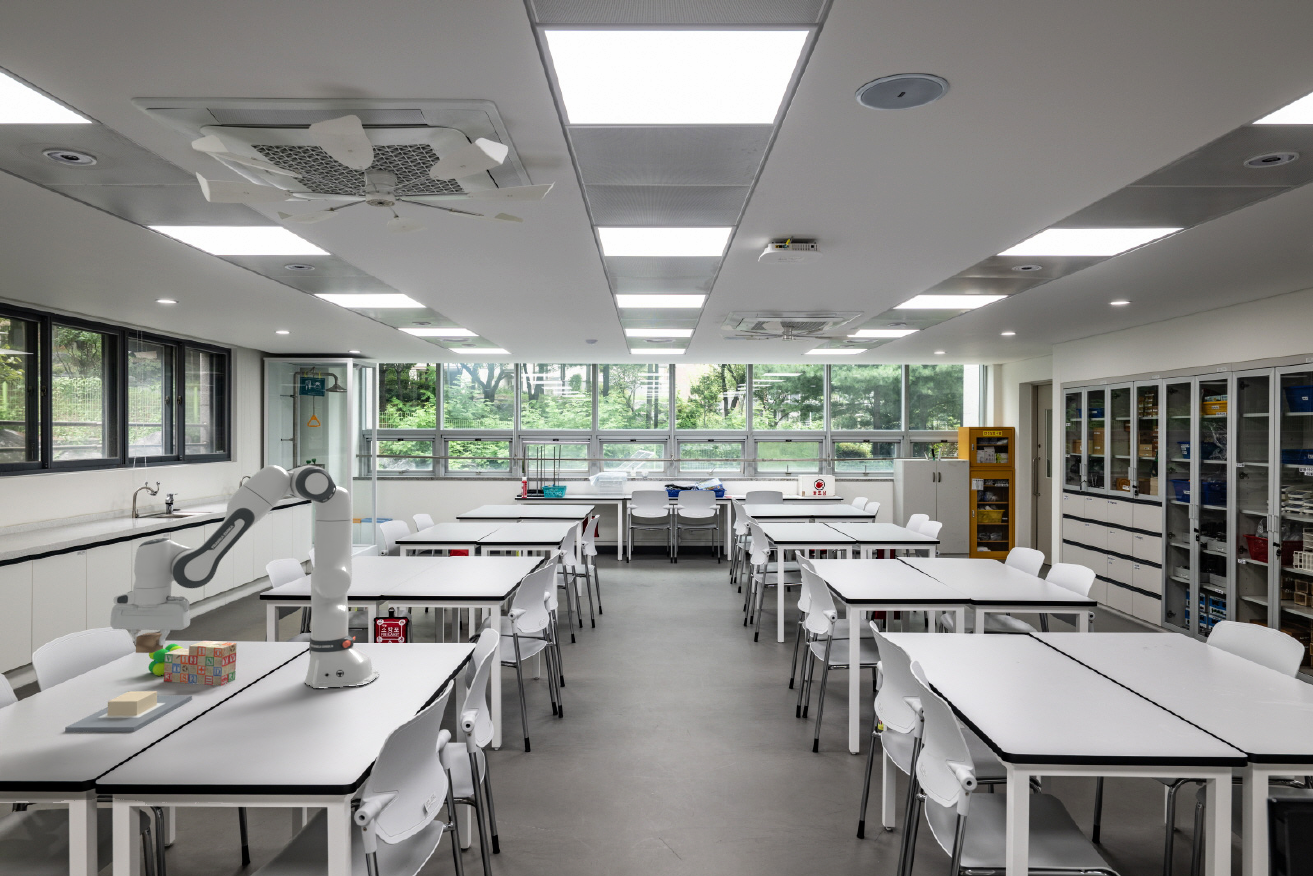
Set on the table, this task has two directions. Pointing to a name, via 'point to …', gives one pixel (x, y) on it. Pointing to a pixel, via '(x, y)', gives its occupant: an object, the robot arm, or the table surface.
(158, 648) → the walnut cube
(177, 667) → the stack of blocks
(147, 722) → the board
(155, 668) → the molecule model
